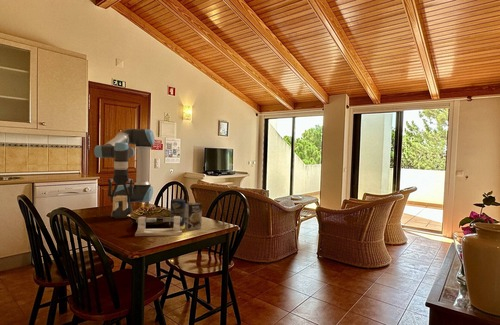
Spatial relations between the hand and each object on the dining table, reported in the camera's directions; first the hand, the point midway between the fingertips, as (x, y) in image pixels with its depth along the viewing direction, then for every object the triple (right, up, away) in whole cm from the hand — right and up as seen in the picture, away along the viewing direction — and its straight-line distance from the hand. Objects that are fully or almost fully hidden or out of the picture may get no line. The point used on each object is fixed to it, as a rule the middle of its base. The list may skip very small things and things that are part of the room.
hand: (120, 208), depth 174 cm
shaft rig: (+22, -15, +2) cm, 27 cm away
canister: (+28, -15, +24) cm, 40 cm away
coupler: (0, 0, 0) cm, 0 cm away
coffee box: (+40, -16, +15) cm, 45 cm away
